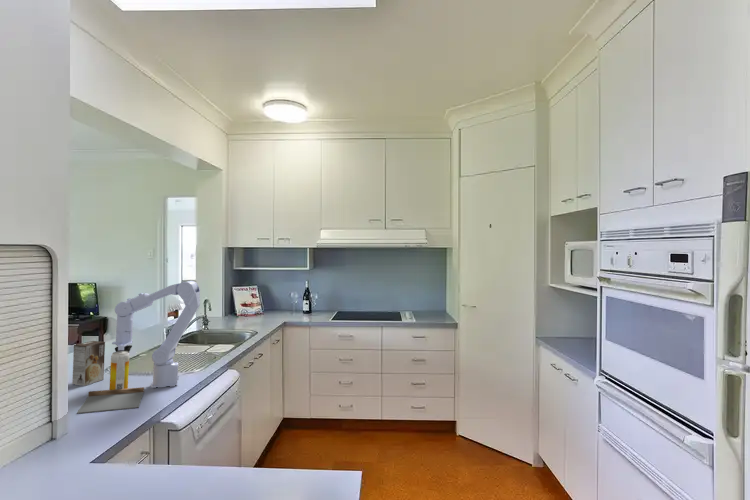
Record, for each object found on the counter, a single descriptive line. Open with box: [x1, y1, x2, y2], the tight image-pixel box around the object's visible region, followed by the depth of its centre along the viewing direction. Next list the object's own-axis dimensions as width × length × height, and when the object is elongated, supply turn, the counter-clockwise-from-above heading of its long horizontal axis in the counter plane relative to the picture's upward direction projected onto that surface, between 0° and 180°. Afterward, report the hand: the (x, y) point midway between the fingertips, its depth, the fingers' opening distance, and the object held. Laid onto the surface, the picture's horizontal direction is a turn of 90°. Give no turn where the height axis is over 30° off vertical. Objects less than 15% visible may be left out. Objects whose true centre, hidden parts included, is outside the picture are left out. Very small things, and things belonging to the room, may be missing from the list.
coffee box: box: [71, 340, 106, 387], centre depth 170 cm, size 9×6×16 cm
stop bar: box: [87, 386, 145, 397], centre depth 157 cm, size 18×1×2 cm, turn 114°
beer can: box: [108, 351, 130, 390], centre depth 161 cm, size 6×6×15 cm
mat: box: [76, 391, 145, 415], centre depth 149 cm, size 18×17×1 cm
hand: (122, 364), depth 168 cm, fingers closed
